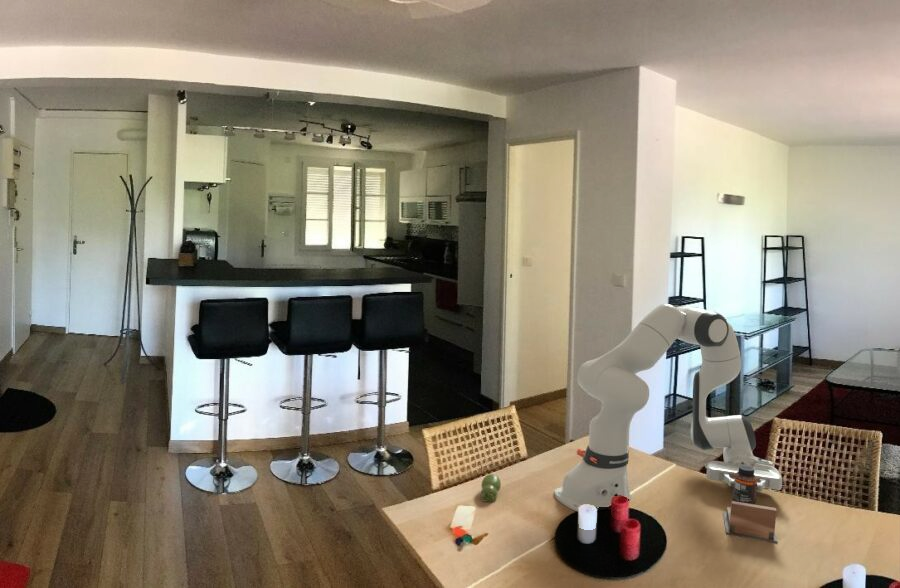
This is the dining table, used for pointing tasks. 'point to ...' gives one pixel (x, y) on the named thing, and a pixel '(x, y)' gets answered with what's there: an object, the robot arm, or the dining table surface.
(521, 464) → the dining table surface
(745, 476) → the supplement bottle
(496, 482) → the green rounded lumpy piece
